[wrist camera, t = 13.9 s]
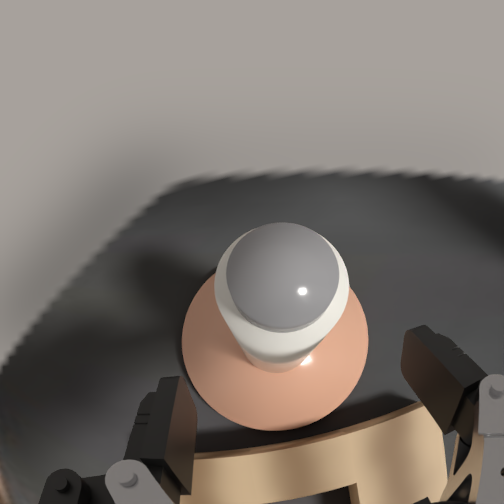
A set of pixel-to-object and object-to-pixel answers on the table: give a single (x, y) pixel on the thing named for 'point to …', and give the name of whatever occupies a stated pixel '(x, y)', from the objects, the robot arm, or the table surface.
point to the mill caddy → (332, 465)
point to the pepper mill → (280, 293)
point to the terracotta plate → (265, 383)
